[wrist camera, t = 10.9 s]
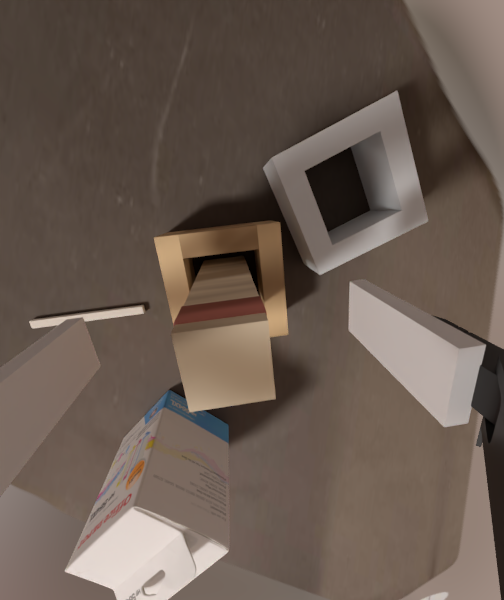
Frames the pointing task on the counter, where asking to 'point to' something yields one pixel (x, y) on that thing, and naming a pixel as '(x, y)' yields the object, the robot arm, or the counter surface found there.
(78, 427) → the counter surface
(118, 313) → the thin white stick
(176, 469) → the ink box
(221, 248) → the wooden square frame
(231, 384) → the red-banded tall box
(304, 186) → the grey square frame
